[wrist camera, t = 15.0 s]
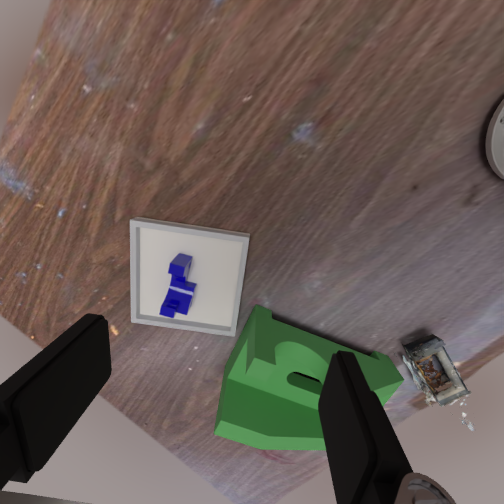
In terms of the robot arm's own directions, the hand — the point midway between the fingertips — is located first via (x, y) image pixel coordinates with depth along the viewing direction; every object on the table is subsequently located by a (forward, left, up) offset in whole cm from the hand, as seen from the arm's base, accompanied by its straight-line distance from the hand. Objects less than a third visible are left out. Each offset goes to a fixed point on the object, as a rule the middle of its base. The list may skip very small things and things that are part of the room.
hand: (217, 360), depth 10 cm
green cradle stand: (-13, +22, -27) cm, 37 cm away
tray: (+7, +9, -26) cm, 29 cm away
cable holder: (+8, +10, -26) cm, 28 cm away
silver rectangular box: (-32, +18, -27) cm, 45 cm away
